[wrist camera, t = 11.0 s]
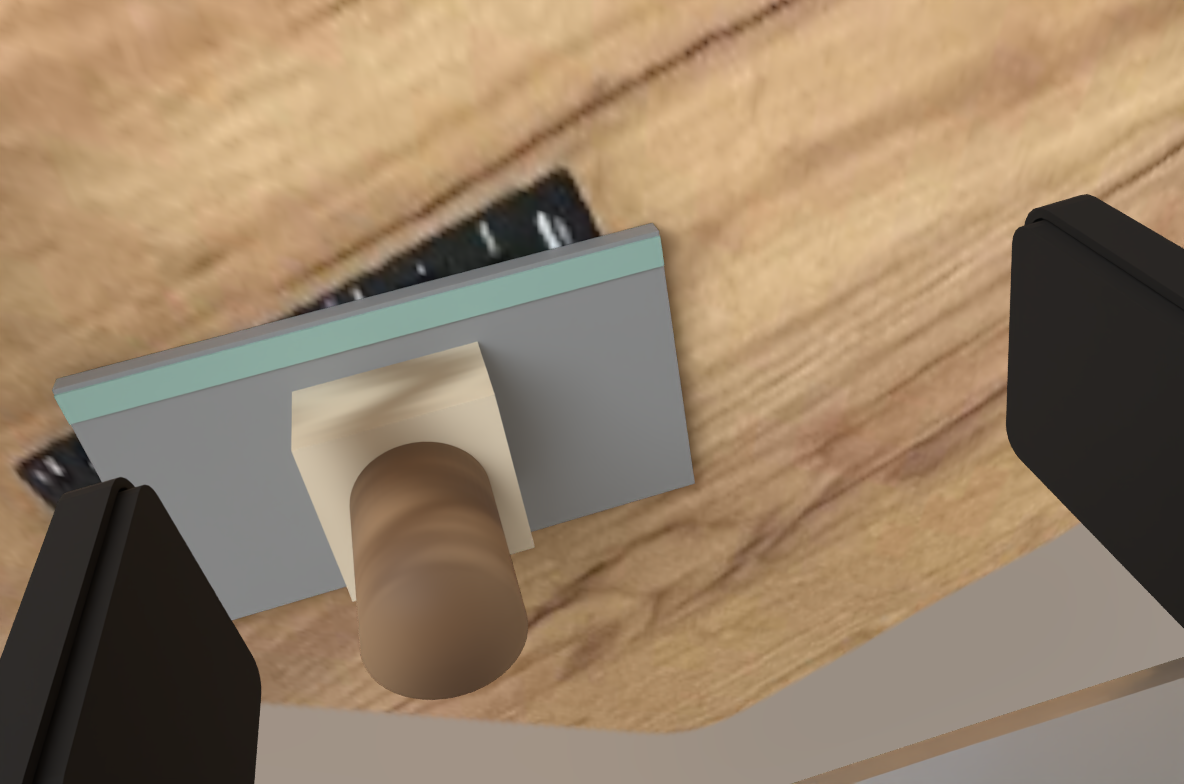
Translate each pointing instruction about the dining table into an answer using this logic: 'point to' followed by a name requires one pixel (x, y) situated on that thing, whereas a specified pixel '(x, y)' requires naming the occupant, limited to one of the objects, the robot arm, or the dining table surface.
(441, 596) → the walnut drum
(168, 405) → the slate board
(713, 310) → the dining table surface
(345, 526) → the birch pedestal
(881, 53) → the dining table surface
